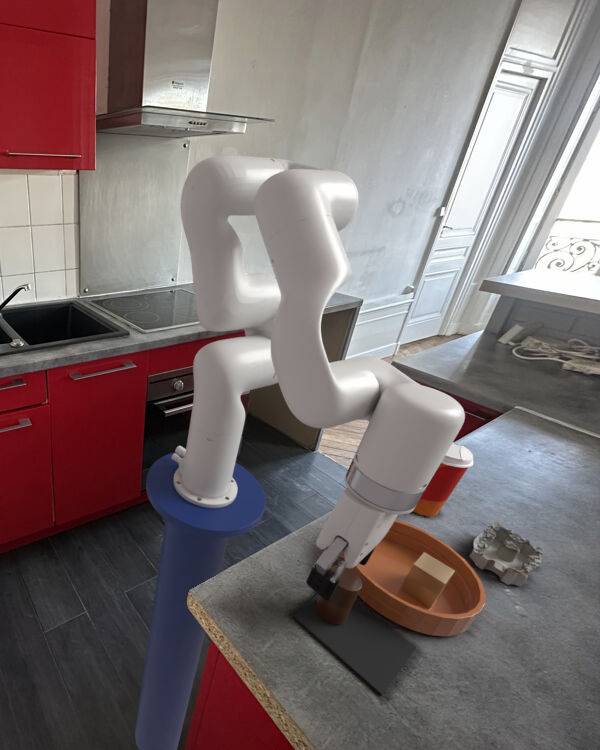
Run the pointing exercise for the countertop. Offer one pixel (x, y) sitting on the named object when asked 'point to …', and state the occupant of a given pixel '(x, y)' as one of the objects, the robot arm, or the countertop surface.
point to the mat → (360, 643)
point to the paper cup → (444, 480)
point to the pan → (395, 604)
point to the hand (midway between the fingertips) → (336, 573)
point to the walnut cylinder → (340, 598)
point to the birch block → (427, 579)
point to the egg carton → (505, 554)
